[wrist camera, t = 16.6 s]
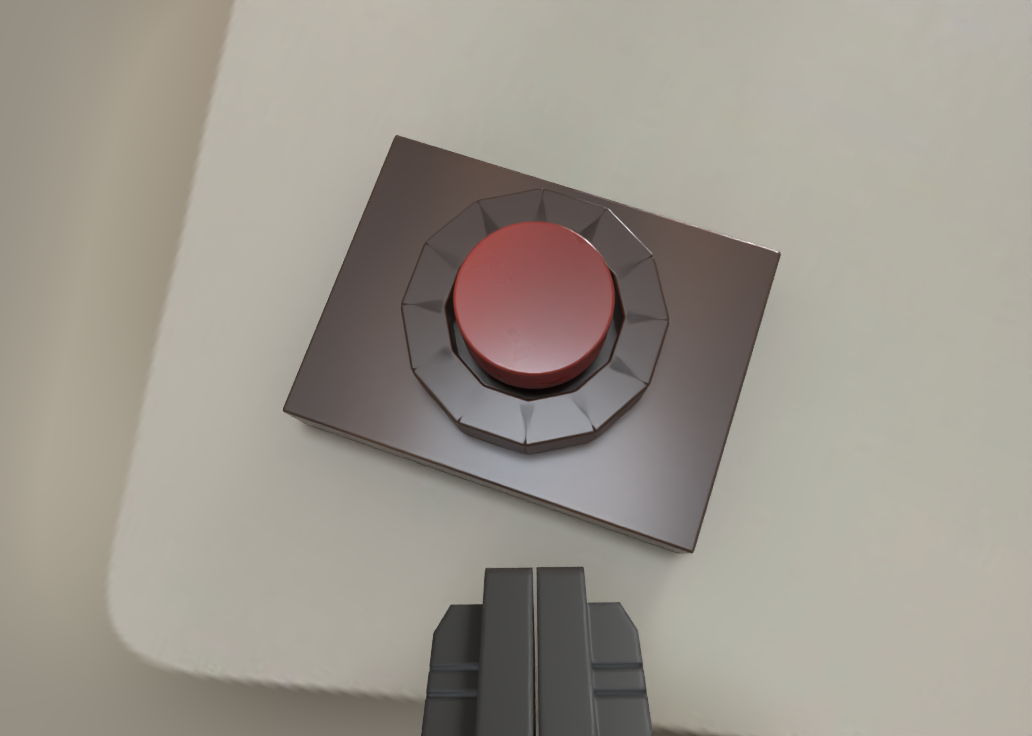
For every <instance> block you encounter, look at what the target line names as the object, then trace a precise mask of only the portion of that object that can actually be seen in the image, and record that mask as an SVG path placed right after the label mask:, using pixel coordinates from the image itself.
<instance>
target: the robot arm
mask: <svg viewBox="0 0 1032 736" xmlns="http://www.w3.org/2000/svg"><path fill="white" fill-rule="evenodd" d="M537 636H538V709H539V736H653V732H652V725H651V719H650V712H649V705H648V698H647V694H646V684H645V677H644V670H643V663H642V656H641V649H640V642H639V635H638V630H637V628H636V627H635V625H634V624H633V622H632V621H631V619H630V617H629V616H628V614H627V613H626V611H625V610H624V608H623V607H622V605H621V603H620V602H612V603H587V600H586V587H585V575H584V568H583V567H537ZM426 693H427V696H426V700H425V708H424V717H423V725H422V733H421V736H536V720H535V718H536V715H535V640H534V603H533V570H532V568H486V569H485V578H484V594H483V604H475V605H450V607H449V609H448V610H447V612H446V613H445V615H444V617H443V618H442V620H441V622H440V623H439V625H438V627H437V628H436V630H435V632H434V633H433V642H432V650H431V658H430V672H429V675H428V683H427V692H426Z"/></svg>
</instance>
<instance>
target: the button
mask: <svg viewBox="0 0 1032 736" xmlns="http://www.w3.org/2000/svg"><path fill="white" fill-rule="evenodd" d="M614 304H615V291H614V285H613V280H612V277H611V274H610V271H609V269H608V267H607V264H606V262H605V261H604V259H603V258H602V256H601V255H600V253H599V252H598V251H597V250H596V248H595V247H594V246H593V245H592V244H591V243H590V242H588V241H587V240H586V239H585V238H583V237H582V236H581V235H579V234H578V233H576V232H574V231H572V230H570V229H568V228H565V227H563V226H560V225H556V224H552V223H547V222H522V223H516V224H512V225H509V226H506V227H503V228H501V229H498V230H497V231H495V232H493V233H491V234H489V235H488V236H487V237H485V238H484V239H482V240H481V241H480V242H479V243H478V244H477V245H476V246H475V247H474V248H473V249H472V250H471V251H470V253H469V254H468V255H467V257H466V258H465V260H464V261H463V263H462V265H461V267H460V269H459V272H458V274H457V278H456V281H455V286H454V292H453V305H454V313H455V317H456V321H457V324H458V327H459V329H460V332H461V335H462V338H463V340H464V343H465V345H466V347H467V349H468V351H469V353H470V355H471V356H472V357H473V359H474V360H475V361H476V363H477V364H478V365H479V366H480V367H481V368H482V369H483V370H484V371H486V372H487V373H488V374H489V375H491V376H492V377H494V378H496V379H497V380H499V381H501V382H504V383H506V384H509V385H512V386H515V387H519V388H527V389H541V388H549V387H553V386H557V385H560V384H562V383H565V382H567V381H569V380H571V379H573V378H575V377H576V376H578V375H579V374H580V373H582V372H583V371H584V370H585V369H586V368H587V367H588V366H589V365H591V364H592V362H593V361H594V360H595V358H596V357H597V356H598V354H599V352H600V351H601V349H602V347H603V345H604V342H605V340H606V337H607V334H608V330H609V327H610V324H611V320H612V316H613V312H614Z"/></svg>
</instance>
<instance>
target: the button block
mask: <svg viewBox="0 0 1032 736" xmlns="http://www.w3.org/2000/svg"><path fill="white" fill-rule="evenodd" d="M522 222H547V223H552V224H556V225H560V226H563V227H565V228H568V229H570V230H572V231H574V232H576V233H578V234H579V235H581V236H582V237H583V238H585V239H586V240H587V241H588V242H590V243H591V244H592V245H593V246H594V247H595V248H596V250H597V251H598V252H599V253H600V255H601V256H602V258H603V259H604V261H605V262H606V264H607V267H608V269H609V271H610V274H611V277H612V280H613V285H614V291H615V304H614V312H613V316H612V320H611V324H610V327H609V330H608V334H607V337H606V340H605V342H604V345H603V347H602V349H601V351H600V352H599V354H598V356H597V357H596V358H595V360H594V361H593V362H592V364H591V365H589V366H588V367H587V368H586V369H585V370H584V371H583V372H582V373H580V374H579V375H578V376H576V377H575V378H573V379H571V380H569V381H567V382H565V383H562V384H560V385H557V386H553V387H549V388H541V389H527V388H519V387H515V386H512V385H509V384H506V383H504V382H501V381H499V380H497V379H496V378H494V377H492V376H491V375H489V374H488V373H487V372H486V371H484V370H483V369H482V368H481V367H480V366H479V365H478V364H477V363H476V361H475V360H474V359H473V357H472V356H471V355H470V353H469V351H468V349H467V347H466V345H465V343H464V340H463V338H462V335H461V332H460V329H459V327H458V324H457V321H456V317H455V313H454V305H453V292H454V286H455V281H456V278H457V274H458V272H459V269H460V267H461V265H462V263H463V261H464V260H465V258H466V257H467V255H468V254H469V253H470V251H471V250H472V249H473V248H474V247H475V246H476V245H477V244H478V243H479V242H480V241H481V240H482V239H484V238H485V237H487V236H488V235H489V234H491V233H493V232H495V231H497V230H498V229H501V228H503V227H506V226H509V225H512V224H516V223H522ZM780 256H781V254H780V252H779V251H775V250H772V249H769V248H766V247H762V246H759V245H756V244H752V243H749V242H746V241H743V240H739V239H736V238H733V237H730V236H726V235H723V234H720V233H716V232H713V231H710V230H707V229H703V228H700V227H697V226H693V225H690V224H687V223H684V222H680V221H677V220H674V219H670V218H667V217H664V216H661V215H657V214H654V213H651V212H648V211H644V210H641V209H638V208H634V207H631V206H628V205H625V204H621V203H618V202H615V201H611V200H608V199H605V198H602V197H598V196H595V195H592V194H588V193H585V192H582V191H579V190H575V189H572V188H569V187H566V186H562V185H559V184H556V183H552V182H549V181H546V180H543V179H539V178H536V177H533V176H529V175H526V174H523V173H520V172H516V171H513V170H510V169H507V168H503V167H500V166H497V165H493V164H490V163H487V162H484V161H480V160H477V159H474V158H470V157H467V156H464V155H461V154H457V153H454V152H451V151H447V150H444V149H441V148H438V147H434V146H431V145H428V144H425V143H421V142H418V141H415V140H411V139H408V138H405V137H402V136H398V135H396V136H395V137H394V140H393V142H392V145H391V147H390V149H389V152H388V154H387V157H386V159H385V162H384V164H383V167H382V169H381V171H380V174H379V176H378V179H377V181H376V184H375V186H374V188H373V191H372V193H371V196H370V198H369V201H368V203H367V205H366V208H365V210H364V213H363V215H362V218H361V220H360V222H359V225H358V227H357V230H356V232H355V235H354V237H353V240H352V242H351V244H350V247H349V249H348V252H347V254H346V257H345V259H344V261H343V264H342V266H341V269H340V271H339V274H338V276H337V278H336V281H335V283H334V286H333V288H332V291H331V293H330V296H329V298H328V300H327V303H326V305H325V308H324V310H323V313H322V315H321V317H320V320H319V322H318V325H317V327H316V330H315V332H314V334H313V337H312V339H311V342H310V344H309V347H308V349H307V352H306V354H305V356H304V359H303V361H302V364H301V366H300V369H299V371H298V373H297V376H296V378H295V381H294V383H293V386H292V388H291V390H290V393H289V395H288V398H287V400H286V403H285V405H284V408H283V411H284V412H285V413H287V414H288V415H290V416H292V417H294V418H296V419H298V420H300V421H301V422H303V423H305V424H308V425H311V426H314V427H317V428H319V429H322V430H325V431H328V432H331V433H334V434H337V435H340V436H342V437H345V438H348V439H351V440H354V441H357V442H360V443H363V444H365V445H368V446H371V447H374V448H377V449H380V450H383V451H386V452H389V453H391V454H394V455H397V456H400V457H403V458H406V459H409V460H412V461H414V462H417V463H420V464H423V465H426V466H429V467H432V468H435V469H437V470H440V471H443V472H446V473H449V474H452V475H455V476H458V477H460V478H463V479H466V480H469V481H472V482H475V483H478V484H481V485H483V486H486V487H489V488H492V489H495V490H498V491H501V492H504V493H506V494H509V495H512V496H515V497H518V498H521V499H524V500H527V501H530V502H532V503H535V504H538V505H541V506H544V507H547V508H550V509H553V510H555V511H558V512H561V513H564V514H567V515H570V516H573V517H576V518H578V519H581V520H584V521H587V522H590V523H593V524H596V525H599V526H601V527H604V528H607V529H610V530H613V531H616V532H619V533H622V534H624V535H627V536H630V537H633V538H636V539H639V540H642V541H645V542H647V543H650V544H653V545H656V546H659V547H662V548H665V549H668V550H670V551H673V552H676V553H693V552H694V550H695V547H696V543H697V540H698V536H699V533H700V529H701V526H702V523H703V519H704V516H705V512H706V509H707V505H708V502H709V499H710V495H711V492H712V488H713V485H714V481H715V478H716V475H717V471H718V468H719V464H720V461H721V458H722V454H723V451H724V447H725V444H726V440H727V437H728V434H729V430H730V427H731V423H732V420H733V416H734V413H735V410H736V406H737V403H738V399H739V396H740V392H741V389H742V386H743V382H744V379H745V375H746V372H747V369H748V365H749V362H750V358H751V355H752V351H753V348H754V345H755V341H756V338H757V334H758V331H759V327H760V324H761V321H762V317H763V314H764V310H765V307H766V303H767V300H768V297H769V293H770V290H771V286H772V283H773V280H774V276H775V273H776V269H777V266H778V262H779V259H780Z"/></svg>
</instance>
